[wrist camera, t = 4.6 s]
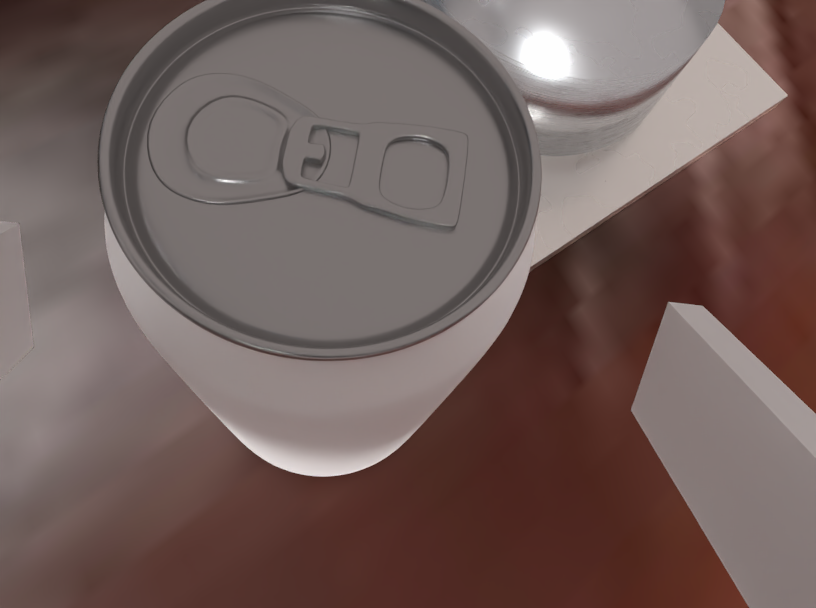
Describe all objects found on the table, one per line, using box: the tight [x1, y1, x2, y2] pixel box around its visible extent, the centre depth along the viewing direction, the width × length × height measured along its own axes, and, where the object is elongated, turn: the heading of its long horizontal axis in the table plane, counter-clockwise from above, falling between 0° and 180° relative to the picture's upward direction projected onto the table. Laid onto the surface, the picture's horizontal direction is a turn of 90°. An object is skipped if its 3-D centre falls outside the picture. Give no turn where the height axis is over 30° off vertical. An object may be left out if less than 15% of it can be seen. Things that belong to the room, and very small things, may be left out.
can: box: [98, 0, 542, 476], centre depth 14 cm, size 6×6×12 cm
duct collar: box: [421, 0, 788, 272], centre depth 22 cm, size 14×14×5 cm
